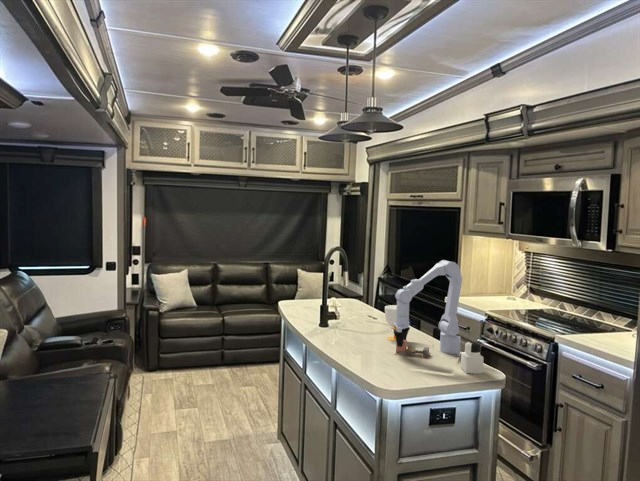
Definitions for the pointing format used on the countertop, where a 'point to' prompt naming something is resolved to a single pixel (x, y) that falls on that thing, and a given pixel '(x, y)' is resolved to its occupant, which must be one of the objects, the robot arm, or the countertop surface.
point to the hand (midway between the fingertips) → (401, 344)
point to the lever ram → (401, 349)
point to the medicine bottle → (472, 359)
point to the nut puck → (411, 349)
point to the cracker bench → (416, 354)
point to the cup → (391, 317)
